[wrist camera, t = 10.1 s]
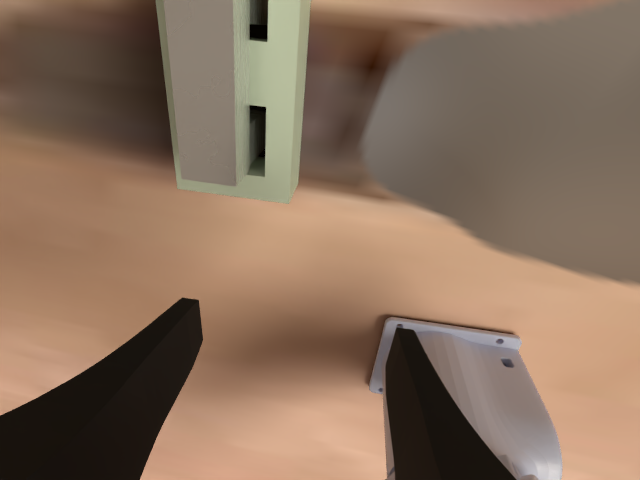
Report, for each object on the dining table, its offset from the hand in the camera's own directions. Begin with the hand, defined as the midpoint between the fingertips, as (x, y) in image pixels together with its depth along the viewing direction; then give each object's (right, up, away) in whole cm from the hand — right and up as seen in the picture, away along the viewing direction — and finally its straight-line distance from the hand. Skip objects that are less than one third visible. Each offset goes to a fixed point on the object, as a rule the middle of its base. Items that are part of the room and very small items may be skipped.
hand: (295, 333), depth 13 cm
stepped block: (-3, +12, +5) cm, 14 cm away
